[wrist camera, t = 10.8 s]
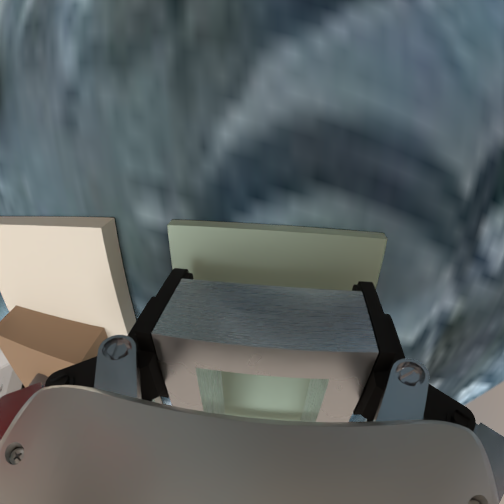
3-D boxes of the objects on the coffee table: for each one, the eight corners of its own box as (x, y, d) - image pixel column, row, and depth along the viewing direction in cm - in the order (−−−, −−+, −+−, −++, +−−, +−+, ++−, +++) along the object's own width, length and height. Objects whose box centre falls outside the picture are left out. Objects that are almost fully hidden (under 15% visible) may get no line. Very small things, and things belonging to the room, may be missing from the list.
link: (361, 291, 10) (378, 352, 8) (311, 447, 16) (310, 488, 13) (181, 278, 11) (151, 333, 8) (209, 437, 16) (199, 477, 14)
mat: (383, 233, 12) (387, 239, 12) (328, 419, 19) (328, 426, 18) (172, 219, 13) (167, 224, 12) (200, 408, 19) (198, 414, 19)
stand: (114, 217, 13) (-18, 339, 6) (164, 407, 20) (128, 505, 13) (-11, 216, 14) (-103, 284, 7) (54, 375, 21) (10, 446, 14)
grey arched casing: (15, 327, 19) (-13, 434, 12) (57, 353, 22) (38, 456, 15) (-20, 355, 25) (-37, 424, 18) (9, 373, 28) (-5, 440, 21)
